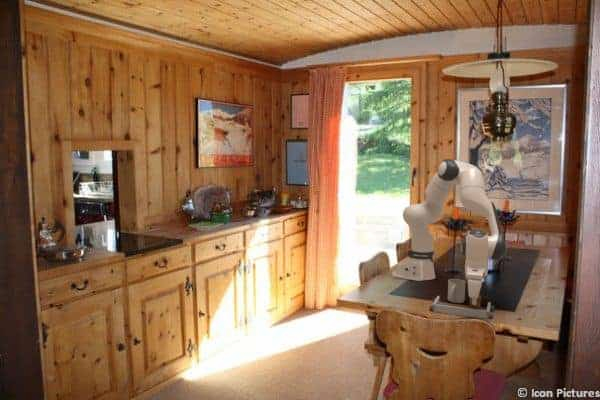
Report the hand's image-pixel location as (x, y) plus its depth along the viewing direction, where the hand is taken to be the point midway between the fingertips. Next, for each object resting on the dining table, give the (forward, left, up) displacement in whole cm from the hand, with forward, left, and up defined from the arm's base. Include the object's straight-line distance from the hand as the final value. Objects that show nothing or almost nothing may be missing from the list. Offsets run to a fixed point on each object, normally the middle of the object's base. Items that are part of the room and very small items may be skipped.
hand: (474, 302), depth 208 cm
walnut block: (0, 0, -2) cm, 2 cm away
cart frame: (-5, 0, -4) cm, 6 cm away
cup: (-9, +11, -4) cm, 15 cm away
